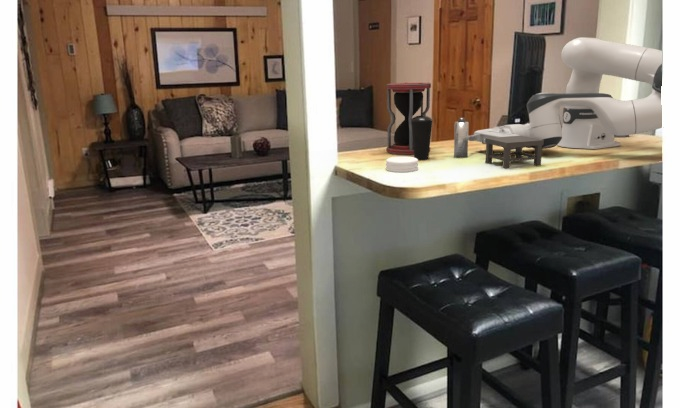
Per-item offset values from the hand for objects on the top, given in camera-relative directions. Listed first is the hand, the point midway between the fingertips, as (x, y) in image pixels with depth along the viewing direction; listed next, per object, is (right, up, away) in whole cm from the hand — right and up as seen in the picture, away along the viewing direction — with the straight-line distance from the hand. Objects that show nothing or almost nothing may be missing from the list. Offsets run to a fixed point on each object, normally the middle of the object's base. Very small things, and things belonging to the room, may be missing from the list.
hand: (475, 140), depth 180 cm
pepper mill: (-5, -6, +1) cm, 8 cm away
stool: (+8, -9, -14) cm, 19 cm away
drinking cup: (-19, -7, 0) cm, 20 cm away
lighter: (+68, +5, +35) cm, 77 cm away
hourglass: (-21, -3, +15) cm, 26 cm away
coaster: (-28, -12, -17) cm, 34 cm away
